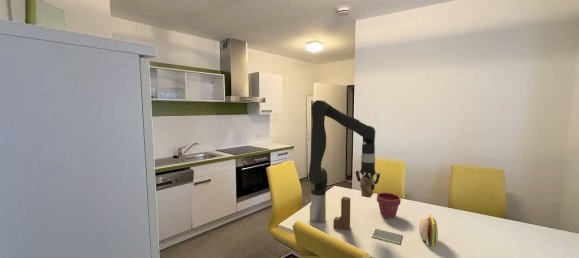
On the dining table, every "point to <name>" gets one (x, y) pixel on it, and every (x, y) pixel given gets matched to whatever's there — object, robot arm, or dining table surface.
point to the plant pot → (388, 204)
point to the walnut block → (366, 187)
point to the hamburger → (428, 229)
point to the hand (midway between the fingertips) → (367, 189)
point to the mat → (387, 236)
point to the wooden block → (343, 215)
